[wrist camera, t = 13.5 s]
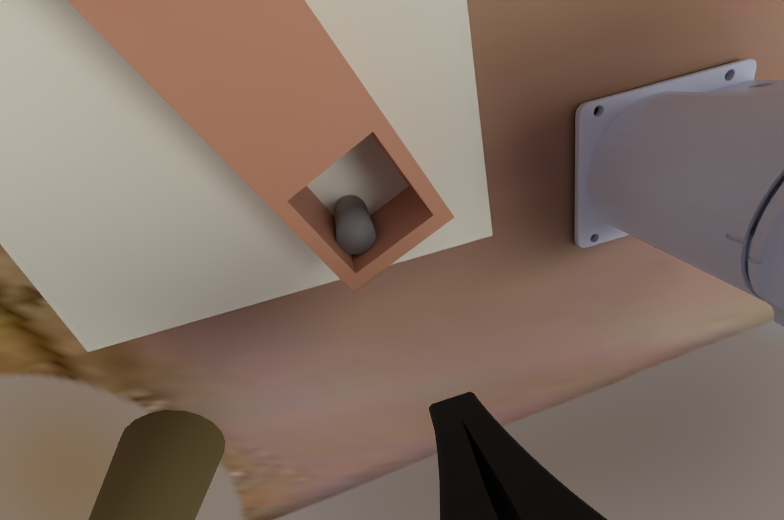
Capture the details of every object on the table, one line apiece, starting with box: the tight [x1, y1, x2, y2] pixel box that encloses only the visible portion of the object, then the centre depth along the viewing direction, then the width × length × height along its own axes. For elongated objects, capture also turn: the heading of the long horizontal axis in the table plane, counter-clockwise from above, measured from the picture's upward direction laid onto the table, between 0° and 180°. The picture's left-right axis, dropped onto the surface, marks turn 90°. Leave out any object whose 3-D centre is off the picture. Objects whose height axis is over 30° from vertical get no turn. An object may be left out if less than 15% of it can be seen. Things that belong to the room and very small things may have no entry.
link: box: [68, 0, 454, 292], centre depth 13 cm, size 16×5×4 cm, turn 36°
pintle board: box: [0, 0, 493, 352], centre depth 12 cm, size 22×21×6 cm
